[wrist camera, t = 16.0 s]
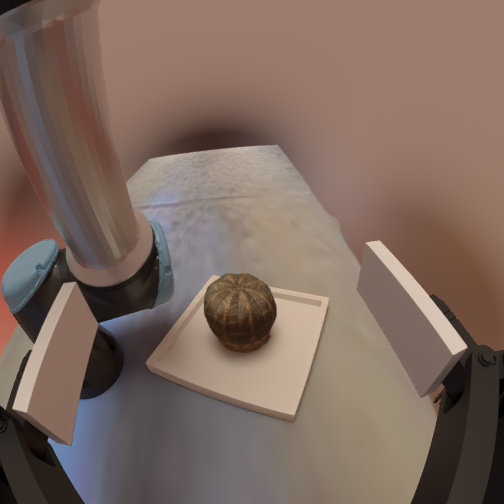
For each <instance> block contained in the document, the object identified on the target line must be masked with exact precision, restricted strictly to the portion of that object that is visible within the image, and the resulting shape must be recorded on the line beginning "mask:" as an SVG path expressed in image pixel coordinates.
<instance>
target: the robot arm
mask: <svg viewBox="0 0 504 504" xmlns="http://www.w3.org/2000/svg"><path fill="white" fill-rule="evenodd" d="M100 1H101V0H0V111H1V114H2V117H3V119H4V122H5V125H6V128H7V130H8V133H9V135H10V137H11V140H12V142H13V145H14V147H15V149H16V152H17V154H18V156H19V158H20V161H21V163H22V165H23V167H24V169H25V171H26V173H27V175H28V177H29V179H30V181H31V183H32V185H33V187H34V189H35V191H36V193H37V195H38V197H39V199H40V200H41V202H42V204H43V206H44V207H45V209H46V211H47V213H48V215H49V216H50V218H51V219H52V221H53V223H54V225H55V226H56V228H57V229H58V231H59V233H60V234H61V236H62V237H63V239H64V241H65V242H66V244H67V247H66V248H64V249H60V246H59V244H58V243H57V242H56V241H55V240H53V239H50V240H49V239H46V240H42V241H40V242H38V243H36V244H34V245H32V246H31V247H30V248H28V249H27V250H25V251H24V252H23V253H21V254H20V255H19V256H18V257H17V258H16V259H15V260H14V262H12V264H11V265H10V266H9V267H8V269H7V270H6V272H5V274H4V276H3V278H2V282H1V292H2V295H3V297H4V299H5V301H6V303H7V305H8V307H9V309H10V312H11V313H12V314H13V316H14V317H15V318H16V320H17V321H18V323H19V324H20V326H21V327H22V329H23V330H24V331H25V333H26V334H27V335H28V337H29V338H30V339H31V341H32V342H33V343H34V347H33V349H32V350H29V352H28V353H27V354H26V356H25V357H24V358H23V360H22V363H21V366H20V368H19V371H18V374H17V377H16V378H17V379H16V380H15V382H14V385H13V388H12V391H11V395H10V398H9V401H8V404H7V408H6V410H5V409H4V408H3V407H1V406H0V504H85V503H84V502H83V500H82V499H81V497H80V496H79V494H78V493H77V491H76V490H75V488H74V486H73V485H72V483H71V481H70V480H69V478H68V476H67V475H66V473H65V471H64V469H63V467H62V466H61V464H60V462H59V460H58V458H57V456H56V454H55V452H54V450H53V448H52V446H51V445H50V444H49V443H48V442H47V441H48V437H49V438H51V439H52V440H54V441H55V442H56V443H60V444H65V445H70V446H72V438H73V432H74V425H75V419H76V414H77V408H78V403H79V399H86V398H91V397H94V396H97V395H99V394H101V393H103V392H104V391H106V390H107V389H108V388H109V387H110V386H111V385H112V384H113V383H114V382H115V380H116V379H117V377H118V376H119V374H120V371H121V369H122V365H123V353H122V349H121V347H120V345H119V344H118V342H117V340H116V339H115V337H114V336H113V335H112V334H111V333H110V332H109V331H108V330H106V329H105V328H104V327H103V326H101V325H100V324H99V323H100V322H104V321H107V320H111V319H114V318H117V317H121V316H124V315H128V314H131V313H135V312H138V311H141V310H145V309H153V308H154V307H156V306H157V305H160V304H162V303H165V302H167V301H169V300H170V299H171V298H172V296H173V294H174V278H173V271H172V268H171V260H170V254H169V250H168V246H167V242H166V238H165V235H164V232H163V229H162V227H161V225H160V224H159V223H158V222H156V221H148V220H147V218H146V217H145V216H144V215H143V214H142V213H141V212H139V211H138V210H136V209H134V208H132V204H131V201H130V197H129V194H128V190H127V186H126V182H125V179H124V175H123V171H122V167H121V163H120V158H119V154H118V150H117V146H116V141H115V136H114V131H113V127H112V121H111V116H110V111H109V105H108V99H107V93H106V87H105V80H104V73H103V66H102V57H101V47H100V35H99V22H98V7H99V4H100ZM357 291H358V292H359V294H360V295H361V297H362V298H363V300H364V302H365V303H366V305H367V306H368V308H369V310H370V311H371V313H372V314H373V316H374V318H375V319H376V321H377V322H378V324H379V326H380V327H381V329H382V331H383V332H384V334H385V336H386V337H387V339H388V341H389V342H390V344H391V346H392V347H393V349H394V351H395V353H396V354H397V356H398V358H399V360H400V361H401V363H402V365H403V367H404V368H405V370H406V372H407V374H408V376H409V377H410V379H411V381H412V383H413V385H414V387H415V388H416V390H417V392H418V394H419V396H420V398H422V397H424V396H426V395H428V394H430V393H432V392H434V391H435V390H436V389H437V388H438V387H439V386H440V384H441V383H442V384H443V385H444V387H445V388H444V389H443V390H442V391H441V392H440V394H439V395H438V396H437V397H436V398H435V401H434V403H437V401H438V400H439V399H440V398H441V401H440V403H439V404H440V407H439V412H438V417H437V421H436V426H435V430H434V434H433V438H432V442H431V446H430V449H429V453H428V456H427V460H426V463H425V466H424V469H423V472H422V475H421V478H420V481H419V484H418V486H417V489H416V492H415V494H414V497H413V499H412V502H411V504H504V350H501V351H493V350H492V349H491V348H490V347H488V346H486V345H479V346H478V345H477V344H476V343H475V341H474V340H473V339H472V337H471V336H470V335H469V333H468V332H467V331H466V329H465V328H464V327H463V325H462V324H461V323H460V322H459V320H458V319H456V316H455V315H454V314H453V313H452V312H451V311H450V309H449V308H448V306H447V305H446V304H445V303H444V302H443V301H442V300H441V299H439V298H438V297H436V296H435V295H430V296H428V295H427V293H425V291H424V290H423V289H422V287H421V286H420V285H419V284H418V283H417V282H416V280H415V279H414V278H413V277H412V276H411V274H410V273H409V272H408V271H407V270H406V269H405V268H404V267H403V266H402V264H401V263H400V262H399V261H398V260H397V259H396V258H395V257H394V256H393V255H392V254H391V252H390V251H389V250H388V249H387V248H386V247H385V246H384V245H383V244H382V243H381V242H380V241H373V242H366V244H365V250H364V255H363V261H362V266H361V271H360V276H359V281H358V285H357Z"/></svg>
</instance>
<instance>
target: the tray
mask: <svg viewBox="0 0 504 504" xmlns="http://www.w3.org/2000/svg"><path fill="white" fill-rule="evenodd" d="M219 278H220V276H215V275H212V277H211V278H210V279H209V280H208V282H207V283H206V284H205V286H204V287H203V288H202V289H201V291H200V292H199V293H198V295H197V296H196V297H195V298H194V300H193V301H192V302H191V304H190V305H189V306H188V307H187V309H186V310H185V311H184V313H183V314H182V315H181V316H180V318H179V319H178V320H177V322H176V323H175V324H174V326H173V327H172V328H171V330H170V331H169V332H168V333H167V335H166V336H165V337H164V339H163V340H162V341H161V343H160V344H159V345H158V347H157V348H156V349H155V351H154V352H153V353H152V354H151V356H150V357H149V358H148V360H147V361H146V362H145V363H146V365H147V367H148V368H149V370H150V371H151V372H153V373H155V374H157V375H159V376H162V377H164V378H166V379H168V380H171V381H173V382H175V383H177V384H180V385H182V386H185V387H187V388H189V389H192V390H194V391H197V392H200V393H202V394H205V395H207V396H210V397H213V398H215V399H218V400H221V401H224V402H227V403H230V404H233V405H236V406H239V407H242V408H245V409H248V410H251V411H255V412H258V413H261V414H265V415H268V416H272V417H276V418H279V419H283V420H287V421H291V422H293V421H294V419H295V416H296V413H297V410H298V407H299V404H300V401H301V398H302V395H303V392H304V389H305V386H306V383H307V380H308V377H309V374H310V370H311V367H312V364H313V360H314V357H315V354H316V350H317V347H318V343H319V339H320V336H321V332H322V328H323V325H324V321H325V317H326V313H327V309H328V304H329V298H328V297H322V296H316V295H311V294H306V293H300V292H295V291H290V290H284V289H279V288H274V287H269V286H268V287H269V288H270V289H271V293H272V295H273V297H274V300H275V303H276V306H277V317H276V320H275V322H274V324H273V326H272V328H271V331H270V335H271V337H270V339H269V340H268V341H267V343H266V344H264V345H263V346H261V347H260V348H259V349H257V350H255V351H252V352H247V353H242V352H235V351H231V350H229V349H227V348H226V347H225V346H223V345H222V343H221V342H220V341H219V340H218V338H217V336H215V335H214V333H213V332H212V330H211V329H210V328H209V325H208V323H207V320H206V318H205V315H204V297H205V293H206V290H207V287H208V286H209V285H210V284H211V283H213V282H215V281H216V280H218V279H219Z"/></svg>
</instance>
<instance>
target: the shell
mask: <svg viewBox="0 0 504 504" xmlns="http://www.w3.org/2000/svg"><path fill="white" fill-rule="evenodd" d="M204 315H205V318H206V320H207V323H208V325H209V328H210V329H211V330H212V332H213V333H214V335H215V336H217V338H218V340H219V341H220V342H221V343H222V345H223V346H225V347H226V348H227V349H229V350H231V351H235V352H242V353H247V352H252V351H255V350H257V349H259V348H260V347H261V346H263V345H264V344H266V343H267V341H268V340H269V339H270V337H271V335H270V331H271V328H272V326H273V324H274V322H275V320H276V317H277V306H276V303H275V300H274V297H273V295H272V293H271V289H270V288H269V287H268V286H267V284H265V283H264V282H262V281H260V280H259V279H258V278H256V277H255V276H252V275H250V274H247V273H246V274H225V275H223V276H221V277H220V278H219V279H218V280H216V281H215V282H213V283H211V284H210V285H209V286H208V287H207V290H206V293H205V297H204Z"/></svg>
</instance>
